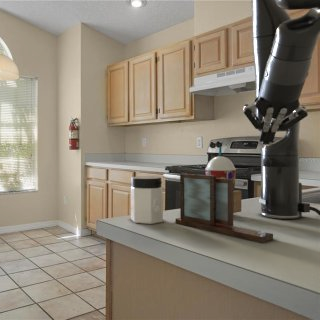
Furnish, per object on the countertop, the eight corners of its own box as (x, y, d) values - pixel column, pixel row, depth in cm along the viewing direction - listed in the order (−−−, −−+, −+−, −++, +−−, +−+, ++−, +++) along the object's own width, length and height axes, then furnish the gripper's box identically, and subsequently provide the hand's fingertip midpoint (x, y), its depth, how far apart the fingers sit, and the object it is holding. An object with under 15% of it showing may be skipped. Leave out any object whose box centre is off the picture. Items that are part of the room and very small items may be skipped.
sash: (241, 223, 79) (241, 178, 79) (231, 226, 77) (231, 179, 77) (208, 217, 87) (208, 176, 87) (198, 219, 85) (198, 176, 84)
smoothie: (242, 216, 95) (242, 146, 94) (217, 218, 93) (217, 147, 92) (223, 211, 103) (223, 146, 102) (199, 212, 101) (199, 147, 100)
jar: (145, 225, 86) (145, 179, 85) (124, 220, 92) (124, 177, 92) (169, 221, 91) (168, 177, 90) (147, 216, 97) (147, 175, 97)
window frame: (273, 239, 71) (273, 178, 71) (262, 242, 69) (262, 179, 68) (186, 220, 90) (186, 172, 90) (175, 223, 88) (174, 173, 88)
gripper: (318, 66, 68) (294, 134, 79) (247, 66, 72) (233, 130, 83) (327, 84, 63) (299, 154, 74) (250, 83, 67) (235, 149, 78)
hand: (264, 142), depth 78 cm, fingers closed
